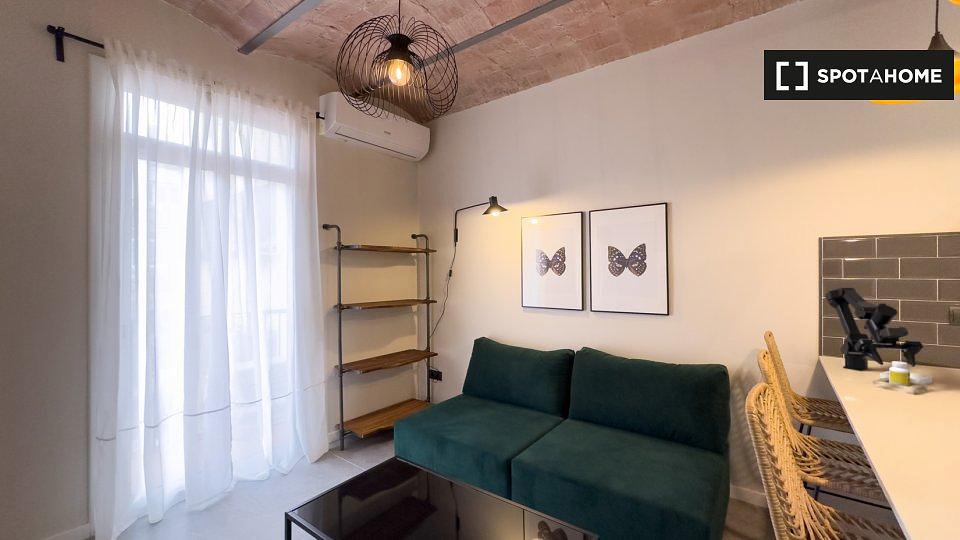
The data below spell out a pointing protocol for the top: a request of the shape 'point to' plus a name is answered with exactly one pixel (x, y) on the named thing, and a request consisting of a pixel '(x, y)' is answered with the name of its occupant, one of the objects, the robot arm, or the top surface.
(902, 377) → the supplement bottle
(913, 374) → the plastic tray
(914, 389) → the wooden square frame
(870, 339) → the robot arm
